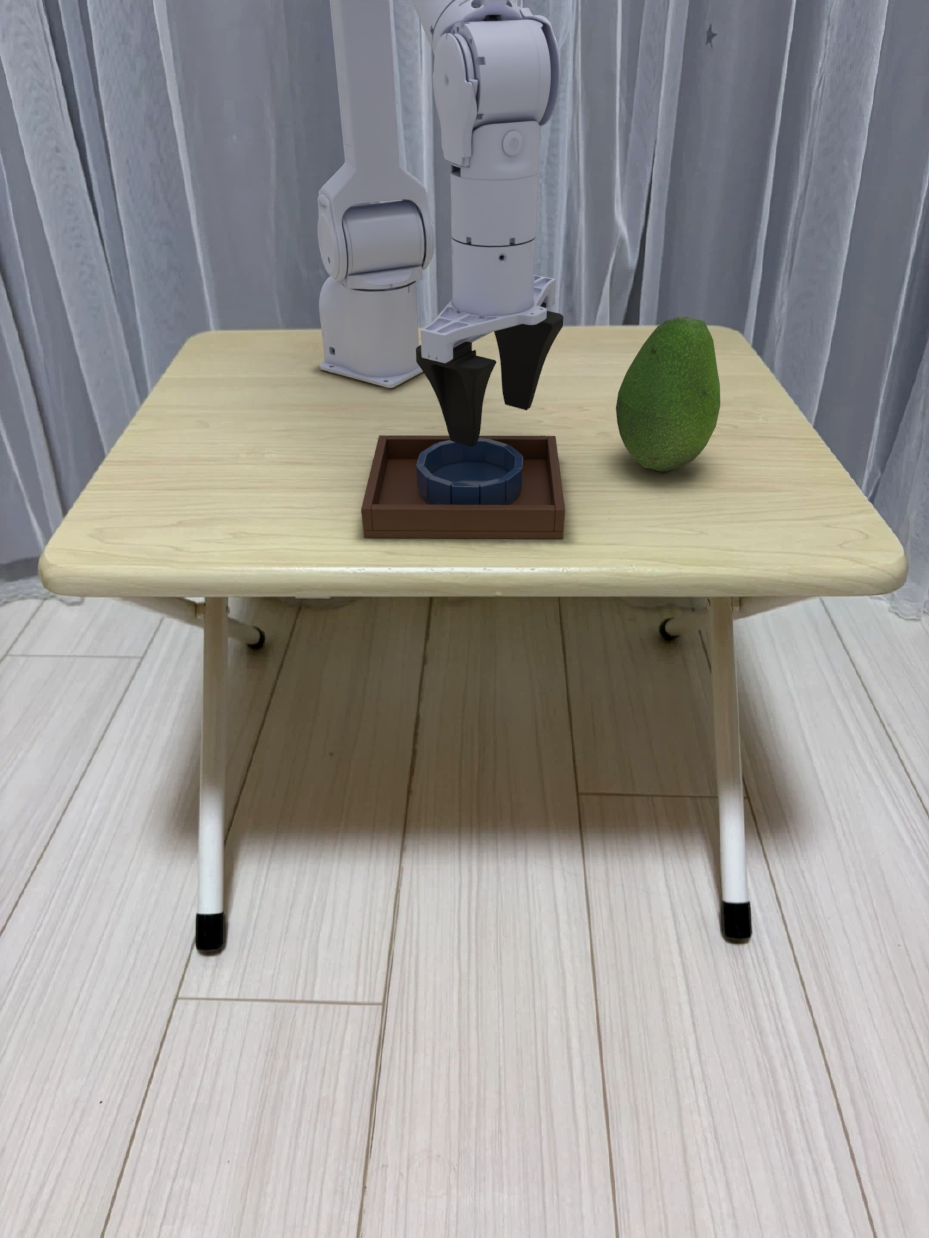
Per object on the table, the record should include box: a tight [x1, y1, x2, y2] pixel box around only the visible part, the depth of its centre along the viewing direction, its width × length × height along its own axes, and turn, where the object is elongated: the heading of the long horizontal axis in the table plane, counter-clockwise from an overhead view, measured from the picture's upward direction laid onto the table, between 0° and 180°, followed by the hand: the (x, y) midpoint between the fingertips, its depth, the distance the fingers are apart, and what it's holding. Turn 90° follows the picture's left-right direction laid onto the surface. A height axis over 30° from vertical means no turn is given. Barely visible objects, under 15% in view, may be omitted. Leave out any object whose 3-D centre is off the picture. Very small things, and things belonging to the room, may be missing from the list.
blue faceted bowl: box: [416, 438, 523, 505], centre depth 66 cm, size 8×8×2 cm
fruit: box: [615, 316, 721, 473], centre depth 67 cm, size 8×8×12 cm
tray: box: [360, 434, 566, 540], centre depth 66 cm, size 14×12×2 cm
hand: (491, 423), depth 66 cm, fingers open, 7 cm apart
